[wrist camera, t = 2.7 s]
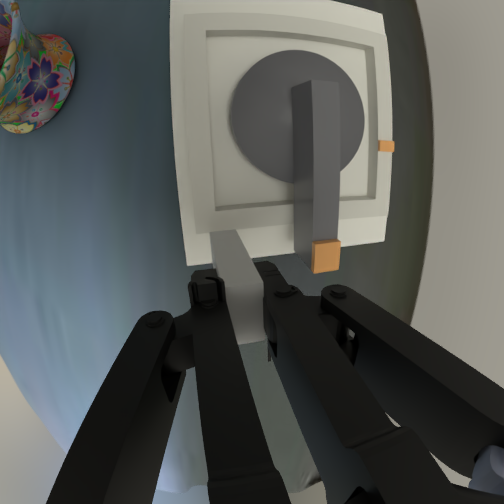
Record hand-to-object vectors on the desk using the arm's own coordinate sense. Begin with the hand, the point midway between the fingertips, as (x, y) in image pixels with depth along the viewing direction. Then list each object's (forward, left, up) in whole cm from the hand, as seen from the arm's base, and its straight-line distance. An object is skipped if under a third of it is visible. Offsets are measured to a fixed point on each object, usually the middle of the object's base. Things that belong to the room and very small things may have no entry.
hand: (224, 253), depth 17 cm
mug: (-14, -16, -7) cm, 22 cm away
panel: (-8, +6, -7) cm, 12 cm away
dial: (-5, +6, -6) cm, 10 cm away
